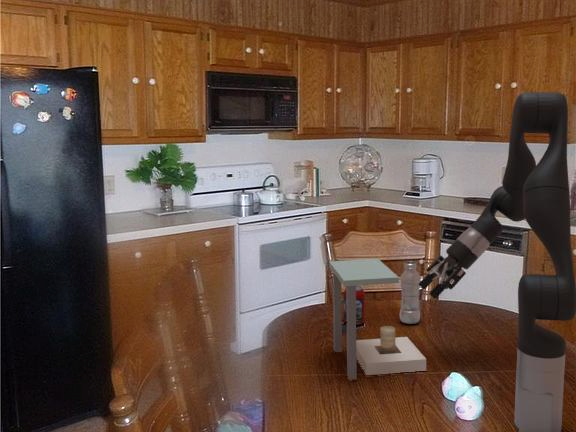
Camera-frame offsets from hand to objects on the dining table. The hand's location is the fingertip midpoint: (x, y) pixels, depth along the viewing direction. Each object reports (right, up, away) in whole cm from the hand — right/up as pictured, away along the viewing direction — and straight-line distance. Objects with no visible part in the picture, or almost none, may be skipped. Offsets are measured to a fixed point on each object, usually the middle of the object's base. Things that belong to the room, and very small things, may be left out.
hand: (426, 291), depth 157 cm
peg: (-10, -19, +2) cm, 22 cm away
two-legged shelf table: (-17, -20, +1) cm, 26 cm away
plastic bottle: (+2, -14, +31) cm, 35 cm away
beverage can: (-16, -15, +32) cm, 39 cm away
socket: (-10, -19, +2) cm, 22 cm away
